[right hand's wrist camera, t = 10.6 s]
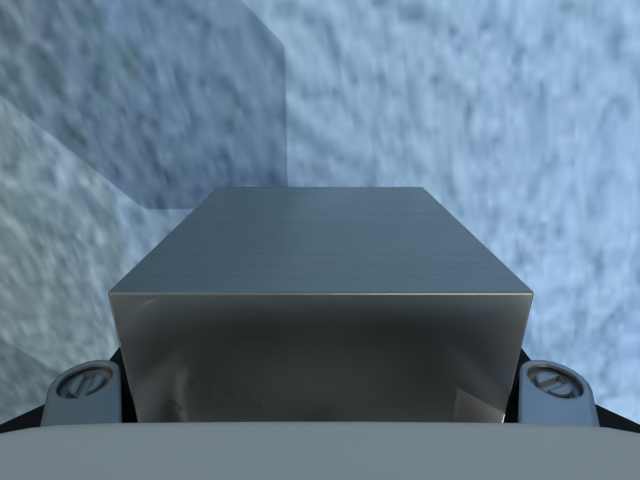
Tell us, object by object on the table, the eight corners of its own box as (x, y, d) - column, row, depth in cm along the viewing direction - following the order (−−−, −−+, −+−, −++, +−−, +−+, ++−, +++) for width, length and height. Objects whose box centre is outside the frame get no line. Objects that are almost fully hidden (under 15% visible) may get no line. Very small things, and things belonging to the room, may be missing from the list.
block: (234, 358, 15) (168, 564, 9) (217, 186, 13) (105, 292, 6) (405, 358, 15) (472, 564, 9) (423, 186, 13) (535, 292, 6)
